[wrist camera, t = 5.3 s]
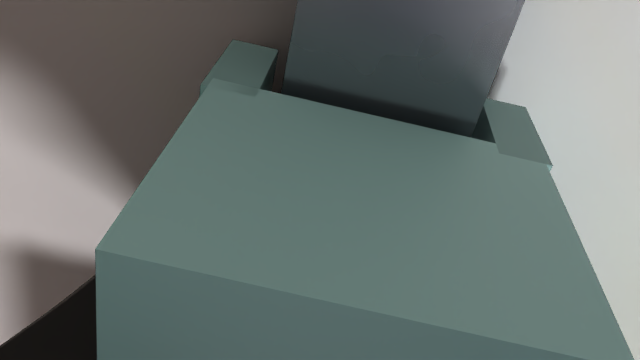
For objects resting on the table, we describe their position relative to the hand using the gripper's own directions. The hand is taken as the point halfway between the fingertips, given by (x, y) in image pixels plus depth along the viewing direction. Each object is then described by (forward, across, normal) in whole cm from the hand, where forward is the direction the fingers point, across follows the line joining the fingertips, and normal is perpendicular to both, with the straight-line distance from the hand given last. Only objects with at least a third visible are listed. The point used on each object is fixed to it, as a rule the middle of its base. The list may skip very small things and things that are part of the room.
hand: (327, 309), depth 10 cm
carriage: (+3, 0, 0) cm, 3 cm away
